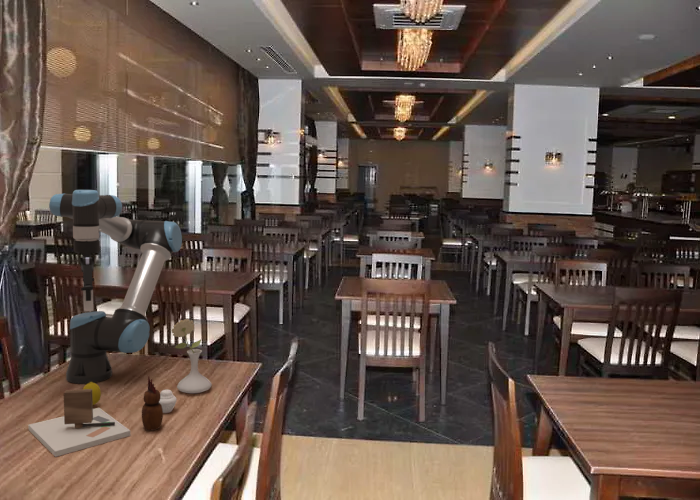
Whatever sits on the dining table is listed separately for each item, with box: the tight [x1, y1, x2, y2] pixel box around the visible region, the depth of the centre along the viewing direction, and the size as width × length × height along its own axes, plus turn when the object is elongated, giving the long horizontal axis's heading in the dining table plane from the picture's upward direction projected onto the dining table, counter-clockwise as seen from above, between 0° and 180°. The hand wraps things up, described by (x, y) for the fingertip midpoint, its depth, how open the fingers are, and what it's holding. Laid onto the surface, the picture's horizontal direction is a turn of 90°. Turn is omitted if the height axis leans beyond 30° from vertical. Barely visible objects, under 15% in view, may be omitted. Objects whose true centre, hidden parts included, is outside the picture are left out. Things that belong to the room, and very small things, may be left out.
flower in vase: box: [171, 318, 212, 394], centre depth 206 cm, size 13×11×25 cm
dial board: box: [27, 407, 132, 458], centre depth 173 cm, size 20×22×2 cm
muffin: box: [159, 389, 178, 414], centre depth 189 cm, size 6×6×7 cm
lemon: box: [82, 382, 102, 406], centre depth 191 cm, size 6×6×8 cm
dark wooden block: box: [63, 388, 115, 428], centre depth 172 cm, size 2×13×10 cm, turn 103°
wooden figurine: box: [141, 375, 164, 431], centre depth 176 cm, size 7×6×15 cm
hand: (88, 306), depth 194 cm, fingers open, 13 cm apart
